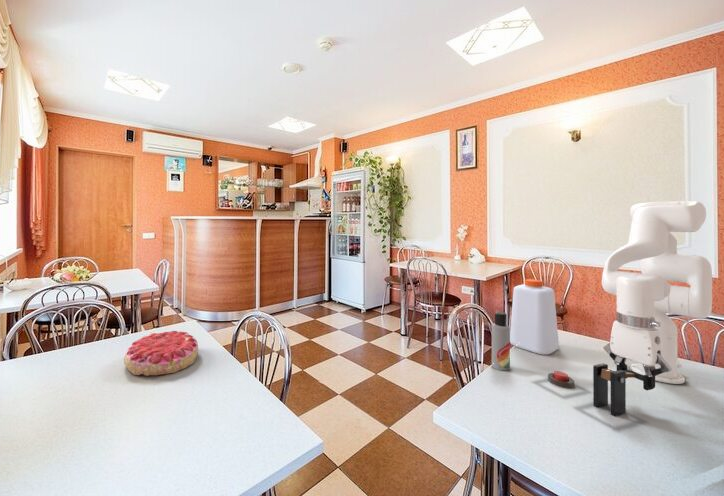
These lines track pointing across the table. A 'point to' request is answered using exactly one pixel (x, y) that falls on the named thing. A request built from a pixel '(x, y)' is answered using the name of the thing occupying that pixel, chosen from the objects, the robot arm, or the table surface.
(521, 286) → the plastic bottle
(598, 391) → the bracket
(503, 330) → the lotion bottle
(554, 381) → the button block
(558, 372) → the button
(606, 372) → the lever
